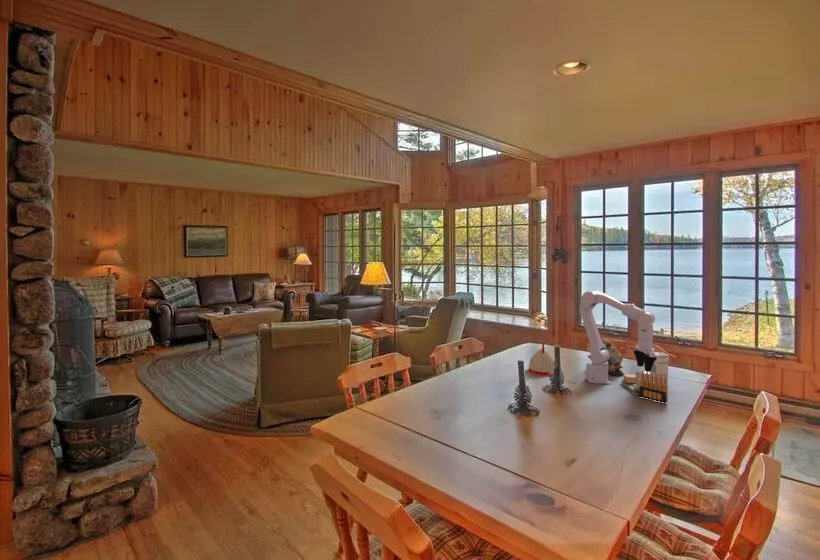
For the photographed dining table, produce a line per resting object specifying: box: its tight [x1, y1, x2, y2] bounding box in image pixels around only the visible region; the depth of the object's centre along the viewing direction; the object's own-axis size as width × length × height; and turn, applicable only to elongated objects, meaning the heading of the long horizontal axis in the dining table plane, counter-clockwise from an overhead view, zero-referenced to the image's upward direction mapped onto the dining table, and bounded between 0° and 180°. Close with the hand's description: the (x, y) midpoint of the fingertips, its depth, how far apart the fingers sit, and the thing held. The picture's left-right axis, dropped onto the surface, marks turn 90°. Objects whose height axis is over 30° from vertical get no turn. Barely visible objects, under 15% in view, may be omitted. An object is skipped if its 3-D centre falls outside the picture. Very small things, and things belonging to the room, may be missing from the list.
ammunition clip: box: [638, 370, 668, 403], centre depth 176 cm, size 11×2×12 cm, turn 39°
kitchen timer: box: [528, 342, 556, 376], centre depth 218 cm, size 14×14×15 cm
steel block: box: [635, 370, 650, 385], centre depth 188 cm, size 5×3×7 cm, turn 84°
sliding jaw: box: [622, 374, 636, 383], centre depth 196 cm, size 10×4×3 cm, turn 84°
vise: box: [620, 380, 640, 395], centre depth 191 cm, size 12×14×4 cm
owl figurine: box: [587, 339, 624, 377], centre depth 216 cm, size 18×12×17 cm, turn 42°
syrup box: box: [649, 351, 670, 384], centre depth 198 cm, size 6×6×14 cm
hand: (643, 368), depth 188 cm, fingers open, 7 cm apart
